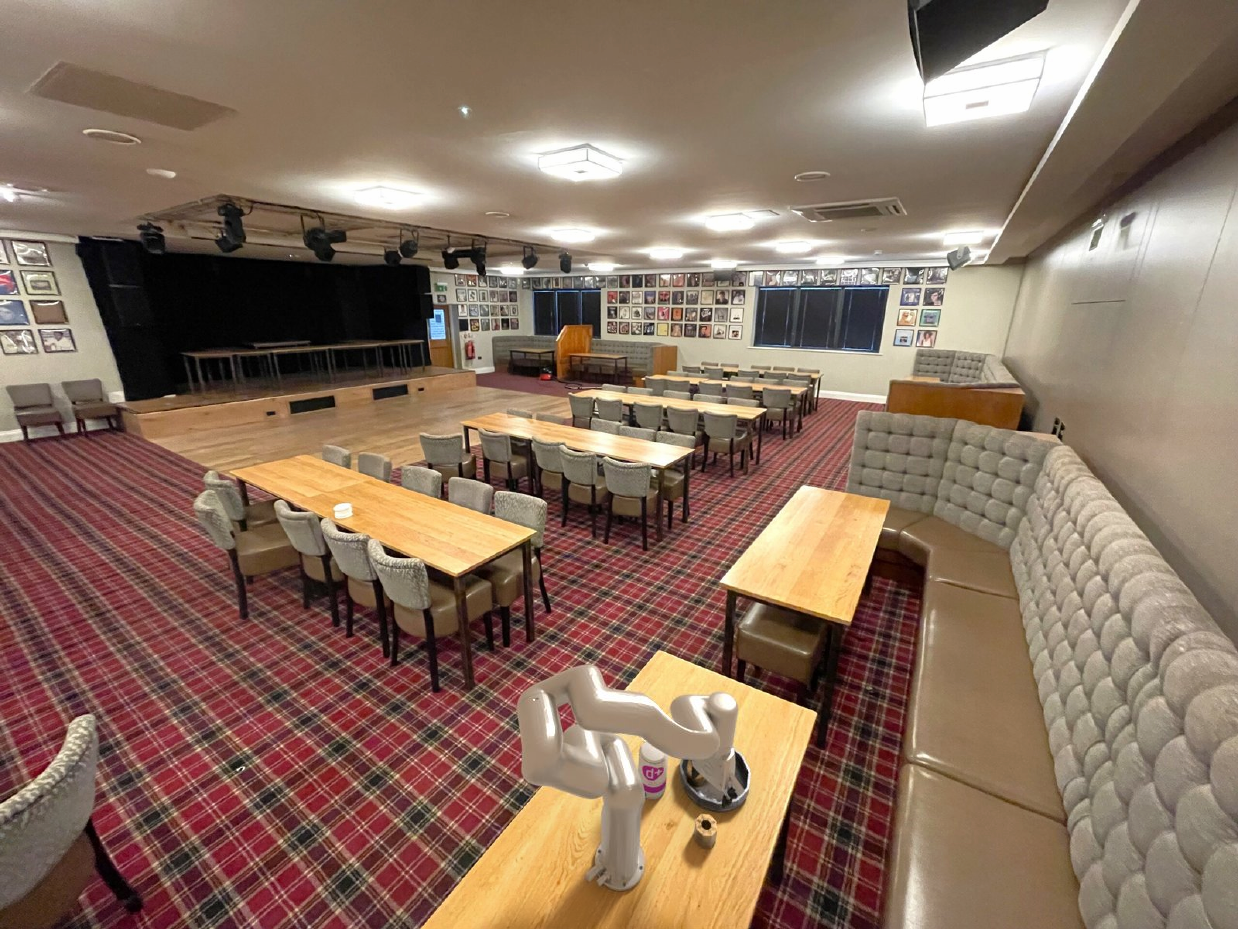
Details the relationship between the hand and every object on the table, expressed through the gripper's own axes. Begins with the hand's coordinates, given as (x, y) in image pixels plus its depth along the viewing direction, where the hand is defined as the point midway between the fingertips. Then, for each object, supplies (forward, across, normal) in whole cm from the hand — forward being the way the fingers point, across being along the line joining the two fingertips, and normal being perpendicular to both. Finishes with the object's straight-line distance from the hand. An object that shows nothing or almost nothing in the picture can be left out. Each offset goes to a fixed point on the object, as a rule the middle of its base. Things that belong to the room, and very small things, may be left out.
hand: (710, 789), depth 125 cm
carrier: (+16, -8, +14) cm, 23 cm away
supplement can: (+17, -18, -1) cm, 25 cm away
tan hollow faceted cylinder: (+17, +1, -1) cm, 17 cm away
